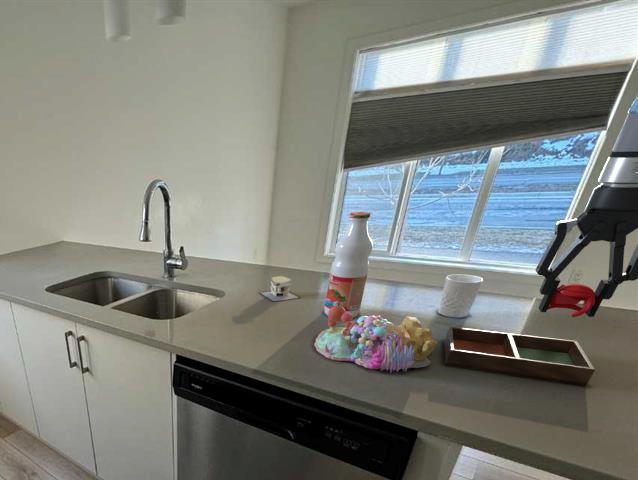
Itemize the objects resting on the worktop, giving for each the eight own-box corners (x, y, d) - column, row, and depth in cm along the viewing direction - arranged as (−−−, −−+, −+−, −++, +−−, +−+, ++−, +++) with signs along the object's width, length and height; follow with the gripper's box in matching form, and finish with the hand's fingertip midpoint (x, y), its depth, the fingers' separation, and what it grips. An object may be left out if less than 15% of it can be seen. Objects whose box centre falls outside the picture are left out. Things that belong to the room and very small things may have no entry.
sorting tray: (568, 356, 88) (577, 340, 87) (585, 386, 78) (595, 369, 77) (444, 340, 100) (449, 326, 98) (445, 365, 90) (450, 349, 88)
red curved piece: (543, 304, 85) (556, 276, 82) (583, 309, 82) (598, 280, 79) (544, 317, 80) (558, 287, 77) (587, 322, 76) (603, 291, 73)
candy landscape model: (414, 332, 105) (424, 298, 100) (448, 376, 85) (462, 336, 81) (310, 329, 112) (315, 297, 107) (320, 369, 93) (326, 332, 88)
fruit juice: (362, 319, 115) (386, 214, 101) (327, 319, 117) (345, 216, 103) (353, 307, 123) (374, 209, 109) (320, 308, 125) (336, 211, 111)
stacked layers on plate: (259, 292, 142) (261, 277, 139) (283, 289, 143) (285, 274, 140) (273, 301, 133) (275, 285, 131) (298, 297, 134) (301, 281, 132)
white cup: (466, 309, 115) (479, 274, 110) (473, 319, 109) (486, 283, 104) (433, 307, 118) (443, 273, 113) (438, 317, 112) (449, 281, 107)
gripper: (556, 188, 71) (505, 312, 83) (727, 184, 62) (642, 325, 73) (547, 183, 76) (501, 301, 88) (704, 179, 67) (628, 311, 78)
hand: (565, 311), depth 81 cm, fingers closed on red curved piece, 6 cm apart
